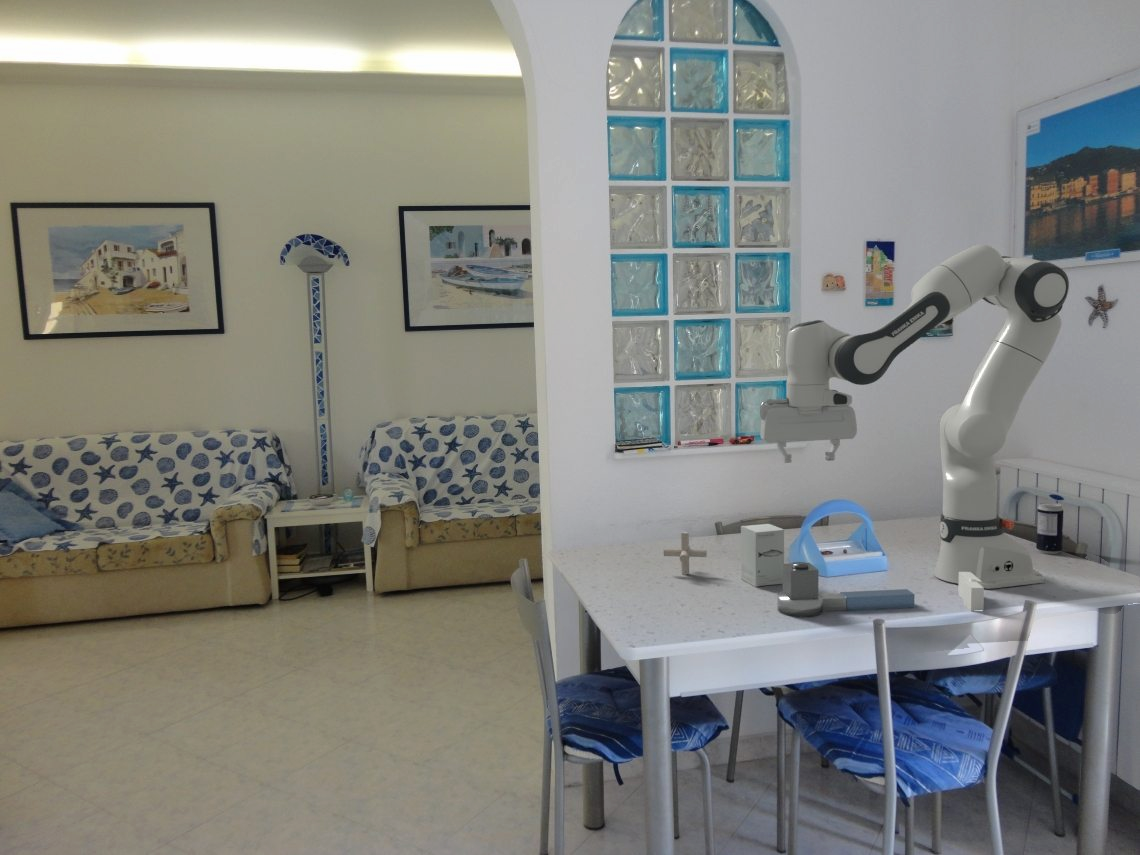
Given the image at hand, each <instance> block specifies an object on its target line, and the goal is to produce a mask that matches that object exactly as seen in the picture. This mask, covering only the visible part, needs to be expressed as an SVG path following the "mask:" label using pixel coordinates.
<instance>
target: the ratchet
mask: <svg viewBox="0 0 1140 855" xmlns="http://www.w3.org/2000/svg"><path fill="white" fill-rule="evenodd" d="M915 597H916V596H915V593H913V592H912V591H911V590H909V589H907V588H902V589H883V590H880V589H879V590H878V589H877V590H859V591H841V592H839V593H824V594H823V593H820V592H818V599H810V600H790V599H789V598H788V597H787V596H786V595H785V594H784V593H783V590H781V591H779V592H778V593H777V611H778V612H779V614H780V613H781V614H782V615H785V616H789V617H795V618H815V617H819V616H820V615H822V614H823V613H824V612H823V611H825V612H842V611H845V610H846V612H849V611H851V612H852V611H871V610H875V611H876V610H891V609H912V608H915Z"/></svg>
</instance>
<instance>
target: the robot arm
mask: <svg viewBox="0 0 1140 855" xmlns="http://www.w3.org/2000/svg"><path fill="white" fill-rule="evenodd" d="M1069 287H1070V281H1069V277H1068V275H1067V273H1066V272H1065V271H1064V270H1063V269H1062V268H1061V267H1060V266H1057V265H1056V264H1054V263H1052V262H1048V261H1042V260H1038V259H1034V258H1029V257H1012V256H1005V255H1003V256H1002V255H1001V253H1000V252H999V251H998V250H996V249H995V248H994V247H992V246H989V245H988V244H975V245H973V246H970V247H968V248H966V249H964V250H962V251H960V252H958V253H956V254H954V255H952V256H950V257H949V258H947V259H945V260H943V261H942V262H941V263H939V264H938V265H936V266H935V267H933V268H932V269H930V270H929V271H928V272H927V273H925V274H924V275H923V276H922V277H921V278H920V279H919V280H918V281H917V282H916V283H914V285H912V289H911V291H910V303H909V305H908V306H907V307H906V308H905V309H904V310H903V311H902V312H900V313H899V314H897V315H896V316H895V317H893V318H892V319H890V320H889V321H888V322H887V323H885V324H884V325H882V326H881V327H880V328H878V329H877V330H874V331H872V332H868V333H863V334H857V335H856V334H850V333H848V332H844V331H841V330H840V329H837V328H836V327H833V326H831V325H829V324H828V323H826V322H825V321H824V320H819V319H817V320H811V321H805V322H802V323H798V324H795V325H794V326H792V327H791V328H790V329H789V331H788V333H787V337H786V346H785V347H786V348H785V364H786V368H787V369H786V370H787V379H786V383H785V384H786V398H777V399H773V398H769V399H767V400H766V401H763V402H762V403H761V404H760V407H759V416H760V418H761V421H760V433H759V434H760V439H761V440H762V441H763V442H765V443H769V444H771V443H772V444H773V443H776V446H777V448H778V450H779V451H780V453H781V455H782V457H781V458H782V463H783V464H787V463H792V454H791V453H787V451H786V450H785V448H786V447H787V443H791V442H812V441H813V442H814V441H829V442H830V443H829V444H831V447H830V449H829V451H825V461H828V462H829V461H833V462H834V461H835V458H836V457H835V456H836V455H835V454H836V452H837V451H838V448H840V445H841V440H852V439H854V438H855V437H856V436H857V434H858V428H857V424H858V423H857V417H856V416H857V415H856V411H855V409H854V408H853V407H852V406H851V404H852V403H853V397H852V395H850V394H848V393H844V392H839V391H838V390H835V389H831V388H830V379H831V378H836V379H839V380H843V381H847V382H850V383H851V384H853V385H856V386H857V385H859V386H863V385H865V386H866V385H871V384H872V383H875V382H877V381H878V380H880V379H881V378H882V377H883V376H884V374H885V373H886V372H887V370H889V367H890V366H891V365H892V364H893V362H894V360H895V359H896V357H898V356H899V355H900V354H901V353H902V352H903V351H905V350H906V349H907V348H909V347H910V346H911V345H912V344H914V343H915V342H917V341H918V340H919V339H921V338H922V337H923V336H925V335H926V334H927V333H928V332H930V331H931V330H933V329H934V328H937V327H939V326H940V325H942V324H943V323H946V322H947V321H949V320H952V319H954V318H955V317H957V316H958V315H961V314H962V313H963V312H965V311H967V310H968V309H970V308H971V307H972V306H974V305H975V304H977V302H979V301H981V300H984V301H985V302H986V303H988V304H990V305H993V306H997V307H1000V308H1002V309H1005V310H1006V318H1005V322H1004V325H1003V326H1002V328H1001V329H1000V331H999V332H998V334H997V336H995V338H994V340H993V342H992V343H991V345H990V346H989V349H988V350H987V352H986V354H985V355H984V356H983V358H982V360H981V361H980V363H979V365H978V367H977V368H976V370H975V372H974V374H973V378H972V380H971V384H970V386H969V388H968V391H967V393H966V395H965V396H964V400H963V401H962V403H957V404H955V405H953V406H951V407H949V408H948V409H947V410H946V411H945V412H944V413H943V414H942V416H941V418H940V422H939V437H940V438H939V442H940V443H939V444H940V456H941V457H940V458H941V470H942V513H941V514H940V519H939V521H940V522H939V531H940V532H939V535H940V540H941V541H940V546H939V547H940V548H939V553H938V559H937V563H936V566H935V569H934V572H933V575H934V577H936V578H937V579H939V580H942V581H945V582H948V583H953V584H957V585H958V583H959V572H971V573H972V574H974V575H975V576H976V577H977V578H978V579H980V580H981V581H982V587H983V588H984V589H988V590H989V589H991V590H992V589H1000V588H1009V587H1015V586H1016V587H1017V586H1018V587H1019V586H1026V585H1035V584H1041V583H1044V582H1045V578H1044V575H1043V574H1042V573H1041V572H1039V571H1037V570H1036V569H1033V568H1034V567H1033V560H1032V557H1031V554H1030V552H1029V551H1028V550H1027V549H1026V548H1025V547H1023V546H1022V545H1021V544H1019V543H1018V542H1017V541H1016V540H1014V539H1013V538H1012V537H1010V536H1009V535H1007V533H1005V530H1004V528H1005V529H1007V530H1013V528H1014V527H1015V522H1014V521H1013V520H1011V519H1009V518H1004V519H1003V518H1001V517H999V516H997V515H998V514H997V513H998V512H997V511H998V478H997V474H996V469H995V468H996V466H995V460H994V455H996V454H997V453H998V452H1000V451H1001V449H1002V448H1003V446H1004V445H1005V442H1006V439H1007V435H1008V433H1009V431H1010V429H1011V427H1012V426H1013V422H1014V420H1015V418H1016V416H1017V413H1018V411H1019V407H1020V406H1021V404H1022V401H1023V399H1024V397H1025V396H1026V394H1027V392H1028V390H1029V388H1030V387H1031V385H1032V383H1033V382H1034V380H1035V379H1036V377H1037V376H1038V374H1039V372H1040V370H1041V369H1042V367H1043V365H1044V364H1045V362H1046V361H1047V359H1048V357H1049V356H1050V353H1051V352H1052V350H1053V347H1054V345H1055V343H1056V341H1057V339H1058V336H1059V333H1060V331H1061V328H1062V318H1061V316H1060V315H1059V313H1060V311H1061V310H1062V309H1063V306H1064V303H1065V302H1066V300H1067V296H1068V293H1069Z"/></svg>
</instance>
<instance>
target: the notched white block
mask: <svg viewBox="0 0 1140 855" xmlns="http://www.w3.org/2000/svg"><path fill="white" fill-rule="evenodd" d="M957 586H958V587H957V588H958V589H957V590H958V591H957V594H958V595H959V596H960V598H962V600H963V606H965V608H967V609H968V610H969V611H970V610H971V611H970V612H975V611H974V610H983V611H984V600H985V598H984V596H985V594H984V592H985V588H983V587H982V581H981V580H980V579H978V578H977V577H976V576H975V575H974V574H972V573H971V572H959V583H958V584H957Z"/></svg>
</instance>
